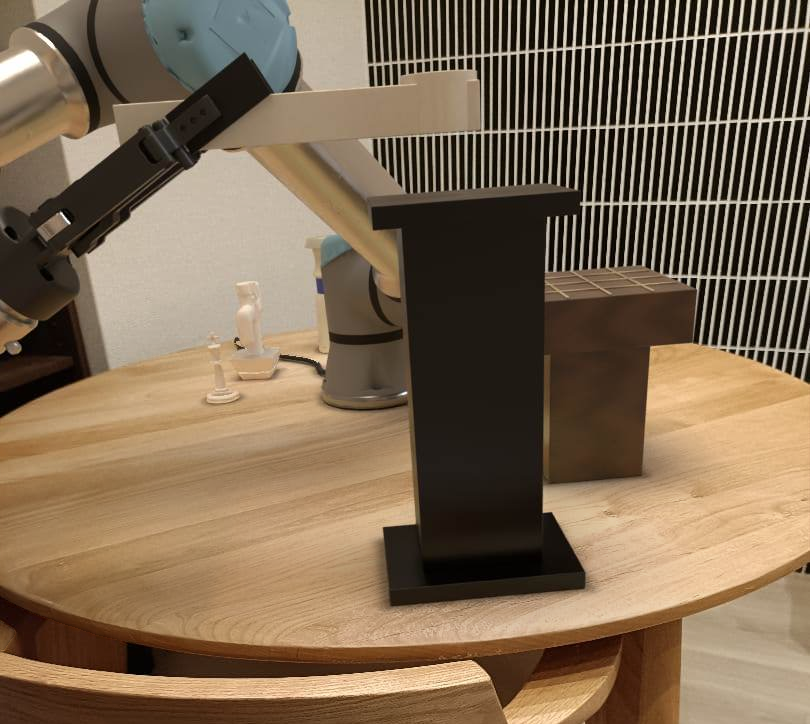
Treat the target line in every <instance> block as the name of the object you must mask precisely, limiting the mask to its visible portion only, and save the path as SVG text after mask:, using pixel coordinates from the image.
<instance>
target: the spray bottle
mask: <svg viewBox="0 0 810 724" xmlns="http://www.w3.org/2000/svg"><path fill="white" fill-rule="evenodd" d="M334 234H335V233H322V234H315V235H310V236H307V237H306V240H305V243H304V248H305V249H309V250H312V254H313V257H314V262H315V264H314V269H313V271H312V275H313V277H315V284H316V285H315V286H316V295H315V310H316V320H317V321H316V322H317V332H318V350H319V352H320V353H323V354H328V353H329V348H330V341H329V331H328V324H327V316H326V307H325V299H324V291H323V283H322V275H321V269H320V266H321V251H320V248H321V243H322V241H323V240H324V238H326V237H327V236H329V235H334ZM319 345H320V346H319ZM324 347H326V348H324Z"/></svg>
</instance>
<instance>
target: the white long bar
mask: <svg viewBox="0 0 810 724" xmlns="http://www.w3.org/2000/svg"><path fill="white" fill-rule="evenodd" d="M183 101H184V100H176V101H162V102H147V103H133V104H119V105H113V106H112V107H113V112H114V117H115V122H116V123H115V127H116V132H117V136H118V143H119V147H120V146H121V145H122V144H124V143H125V142H126V141H127V140H129V139H130V138H131V137H132V136H134V135H135V134H136V133H137V132H138V129H139V128H141V127H142V126H145V125H149V124H150V125H151V127H152V124H153V123H154V122H155V121H157V120H158V121H160V120H162V119H164V120H165V121H166V123H167V124H170V123H169V121H168V120H167V119H166V117H165V115H167V114H168V113H169V112H170V111H172V110H173V109H174V108H175V107H177V106H178V105H179V104H180V103H182V102H183ZM481 125H482V123H481V83H480V79H478V70H475V69H449V70H448V69H447V70H435V71H433V70H432V71H423V72H415V73H407V74H403V75H401V76H399V84H395V85H394V84H392V85H378V86H367V87H365V86H364V87H363V86H361V87H351V88H336V89H335V88H334V89H323V90H313V91H305V92H291V93H276V94H270V95H269V96H268V97H266V98H265V99H264V100H262V101H261V102H260V103H259V104H257V105H256V106H255V107H254V108H252V109H251V110H250V111H249V112H247V113H246V114H245V115H243V116H242V117H241V118H240V119H238V120H237V121H236V122H235V123H233V124H232V125H231V126H229V127H228V128H227V129H226V130H224V131H223V132H222V133H221V134H219V135H218V136H217V137H215V138H214V139H213V140H212V141H210V142H209V143H208V144H207V145H205V146H204V147H203V148H201V149H200V150H208V151H210V150H211V151H212V150H221V149H226V148H240V147H254V146H268V145H282V144H296V143H310V142H324V141H338V140H351V139H358V140H364V139H377V138H379V139H380V138H393V137H404V136H418V135H434V134H449V133H461V132H475V131H481V129H482V128H481ZM184 148H185V149H186V151H189V149H188V148H187V147H186V145H185V146H184Z"/></svg>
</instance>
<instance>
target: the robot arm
mask: <svg viewBox="0 0 810 724" xmlns="http://www.w3.org/2000/svg"><path fill="white" fill-rule="evenodd" d="M291 14H292V12H291V8H290V7H289V4H288V1H287V0H67V1H65V2H64V3H63V4H61V5H60V6H57V7H56V8H54V9H53V10H51V11H49V12H48V13H46V14H44V15H43V16H41V17H39V18H37V19H35V20H33V21H32V22H29V23H27V24H26V25H23V26H20V27H18V28H17V29H15V30H13V32H12V33H11V34H10V38H9V42H8V48H7V49H5V50H3V51H0V168H2V167H4V166H6V165H8V164H10V163H11V162H13V161H15V160H17V159H19V158H20V157H23V156H25V155H27V154H29V153H30V152H32V151H34V150H35V149H37V148H39V147H41V146H43V145H45V144H47V143H48V142H50V141H52V140H54V139H56V138H58V137H59V136H62V137H64V138H67V139H70V140H80V139H82V138H84V137H86V136H87V135H89V134H91V133H93V132H95V131H97V130H99V129H101V128H105V127H107V126H111V125H116V122H115V117H114V112H113V107H112V106H113V105H119V104H133V103H147V102H162V101H176V100H184V101H183V102H182V103H180V104H179V105H178V106H177V107H175V108H174V109H173V110H172V111H170V112H169V113H168V114H167V115H165V117H166V119H167V120H168V121H169V123H170V124H167V123H166V121H165V120H164V119H162V120H160V121H158V120H157V121H155V122H154V123H153V124H152V127H151V125H150V124H149V125H145V126H142V127H141V128H139V129H138V132H137V133H136V134H135V135H134V136H132V137H131V138H130V139H129V140H127V141H126V142H125V143H124V144H122V145H121V146H120V145H119V147H117V148H116V149H115V150H114V151H112V152H111V153H110V154H108V155H107V156H106V157H105V158H103V159H102V160H101V161H100V162H98V163H97V164H96V165H95V166H94V167H92V168H91V169H90V170H88V171H87V172H86V173H84V174H83V175H82V176H81V177H79V178H78V179H76V180H74V181H73V182H72V183H71V184H70V185H68V186H67V187H66V188H65V189H64V190H63V191H61V193H59V194H57V195H54V196H52V197H51V196H50V197H49V198H47V199H46V200H44V202H43V203H41V204H40V205H39V206H38V207H37V208H36V209H35V210H33V211H32V212H30V213H29V214H27V213H26V212H24V211H23V210H21V209H19V208H17V207H15V206H12V205H8V204H1V205H0V355H2V354H3V353H5V351H7V352H8V353H9V354H11V355H18V354H19V353H20V352H22V348H23V347H22V345H21V344H20V343H19V341H18V340H21V339H23V338H24V337H25V336H26V335H27V334H29V333H31V331H33V330H34V329H35V328H36V327H37V326H38V324H39V321H41V322H42V321H43V322H44V321H47V320H49V319H50V318H51V317H53V316H54V315H55V314H57V313H58V312H60V310H61V309H64V307H65V306H67V305H68V304H69V303H71V302H72V301H73V300H75V299H76V298H77V297H78V296H79V294H80V292H81V282H80V278H79V276H78V272H77V270H76V269H75V267H73V265H72V262H71V259H70V255H71V254H72V253H73V255H74V256H75V257H76V258H77V259H78V260H79V259H80V258H82V257H83V256H85V255H86V254H87V255H90V254H91V253H93V252H94V251H95V250H97V249H98V248H99V247H101V246H102V245H103V244H105V243H106V240H107V236H109V235H110V234H112V233H113V232H115V230H117V229H118V228H120V227H121V226H122V225H123V224H125V223H126V222H127V221H129V220H130V219H131V216H132V213H133V212H134V211H135V210H136V209H138V208H139V207H140V206H142V205H143V204H144V203H145V202H147V201H148V200H149V199H150V198H152V197H153V196H154V195H155V194H157V193H158V192H159V191H161V190H163V188H165V187H166V186H167V185H169V183H171V182H173V180H175V179H176V178H177V177H178V176H180V175H181V174H182V173H184V172H185V171H189V170H190V169H192V168H193V167H195V166H196V165H197V164H198V163H199V161H200V160H201V158H202V155H203V154H206V153H207V152H209V150H200V149H201V148H203V147H204V146H205V145H207V144H208V143H209V142H210V141H212V140H213V139H214V138H215V137H217V136H218V135H219V134H221V133H222V132H223V131H224V130H226V129H227V128H228V127H229V126H231V125H232V124H233V123H235V122H236V121H237V120H238V119H240V118H241V117H242V116H243V115H245V114H246V113H247V112H249V111H250V110H251V109H252V108H254V107H255V106H256V105H257V104H259V103H260V102H261V101H262V100H264V99H265V98H266V97H268V96H269V95H270V94H276V93H291V92H305V91H314V89H313V88H311V86H310V85H309V84H308V83H307V82H306V81H305V80H304V78H303V76H304V75H303V74H304V60H303V59H304V58H303V56H302V53H301V51H300V50H299V48H298V39H297V38H298V37H297V31H296V26H295V25H291V24H290V19H289V16H291ZM185 145H186V147H187V148H188V149H189V151H186V149H185V148H184V146H185ZM220 150H221V151H223V152H225V153H239V152H246V153H247V154H249V155H250V156H251V157H252V158H253V159H254V160H255V161H256V162H257V163H259V164H260V165H261V166H262V167H263V168H264V169H265V170H266V171H267V172H268V173H270V175H272V176H273V177H274V178H275V179H276V180H277V181H278V182H280V184H282V185H283V187H285V188H286V189H287V190H288V191H289V192H291V194H293V195H294V196H295V197H296V198H297V199H298V200H299V201H300V202H301V203H303V204H304V205H305V206H306V207H307V208H308V209H309V210H310V211H311V212H312V213H314V214H315V215H316V216H317V217H318V218H319V219H320V220H321V221H322V222H323V223H325V224H326V225H327V226H328V227H329V228H330V229H331V230H332V231H333V232H334V233H333V234H334V235H329V236H327V237H326V238H324V240H323V241H322V243H321V248H320V251H321V266H320V269H321V275H322V283H323V291H324V299H325V307H326V316H327V324H328V331H329V341H330V348H329V353H327V358H326V365H325V369H324V368H323V367H322V363H320V362H319V361H318V363H317V362H316V361H314V360H311V359H308V358H309V357H308V358H303V357H304V356H302V357H296V356H297V355H295V356H289V355H290V354H288V355H281V354H282V353H280V356H279V359H281V360H288V361H295V362H302V363H307V364H311V365H313V366H315V368H316V371H317V372H318V374H320V375H322V376H324V377H323V379H322V382H321V383H322V384H321V392H322V399H323V401H324V402H325V403H326V404H329V405H330V406H334V407H337V408H342V409H352V410H353V409H354V410H371V409H373V410H374V409H383V408H384V409H385V408H391V407H395V406H400V405H404V404H408V399H407V384H406V369H405V354H404V339H403V324H402V310H401V295H400V280H399V265H398V250H397V235H396V229H388V230H375V231H373V229H372V226H371V223H370V220H369V217H368V205H367V197H372V196H385V195H398V194H408V192H406V191H405V189H404V188H403V187H402V186H401V185H400V184H399V182H397V181H396V180H395V178H394V177H393V176H392V175H391V174H390V173H389V172H388V171H387V170H386V169H385V168H384V166H382V164H381V163H380V162H379V160H377V159H376V158H375V157H374V155H373V154H372V153H371V152H370V151H369V150H368V149H367V148H366V146H365V145H364V144H362V142H361V141H360V139H351V140H338V141H324V142H310V143H296V144H282V145H268V146H254V147H240V148H226V149H220ZM236 341H240V339H239V336H235V337H234V340H233V344H234V343H236ZM235 345H236V348H237V349H239V350H240V349H245V348H243V347H241V346H239V345H237V344H235Z"/></svg>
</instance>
